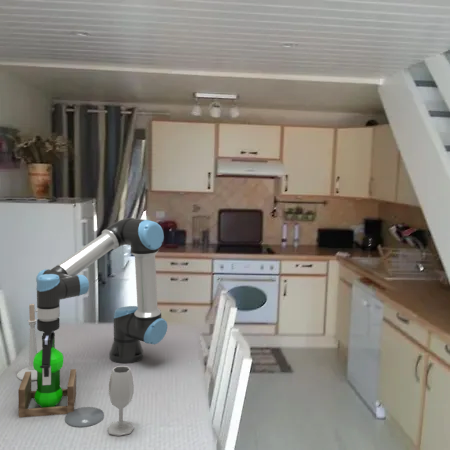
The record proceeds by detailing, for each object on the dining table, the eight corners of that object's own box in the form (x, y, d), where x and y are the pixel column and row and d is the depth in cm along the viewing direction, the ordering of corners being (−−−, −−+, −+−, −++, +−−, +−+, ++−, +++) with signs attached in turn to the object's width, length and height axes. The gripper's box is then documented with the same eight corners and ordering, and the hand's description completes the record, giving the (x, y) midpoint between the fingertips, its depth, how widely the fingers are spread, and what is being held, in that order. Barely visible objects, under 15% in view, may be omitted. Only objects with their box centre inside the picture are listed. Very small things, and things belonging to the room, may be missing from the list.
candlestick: (18, 370, 209) (15, 300, 206) (50, 366, 213) (48, 298, 210) (15, 382, 197) (13, 308, 194) (50, 378, 201) (48, 306, 198)
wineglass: (109, 423, 169) (109, 363, 167) (135, 422, 170) (136, 363, 168) (105, 436, 161) (105, 374, 158) (132, 436, 161) (133, 374, 159)
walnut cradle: (76, 394, 189) (76, 369, 188) (73, 413, 175) (73, 386, 174) (25, 397, 185) (25, 371, 184) (18, 417, 171) (18, 389, 169)
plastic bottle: (40, 398, 185) (39, 333, 182) (68, 399, 185) (68, 334, 182) (28, 411, 175) (27, 342, 172) (58, 412, 175) (58, 344, 172)
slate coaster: (104, 407, 180) (104, 405, 180) (103, 425, 167) (103, 423, 167) (66, 409, 177) (66, 408, 177) (63, 428, 164) (63, 427, 164)
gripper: (41, 309, 186) (41, 365, 189) (32, 329, 164) (32, 392, 167) (62, 308, 188) (62, 364, 191) (56, 328, 166) (56, 391, 168)
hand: (48, 377), depth 179 cm, fingers closed on plastic bottle, 10 cm apart
